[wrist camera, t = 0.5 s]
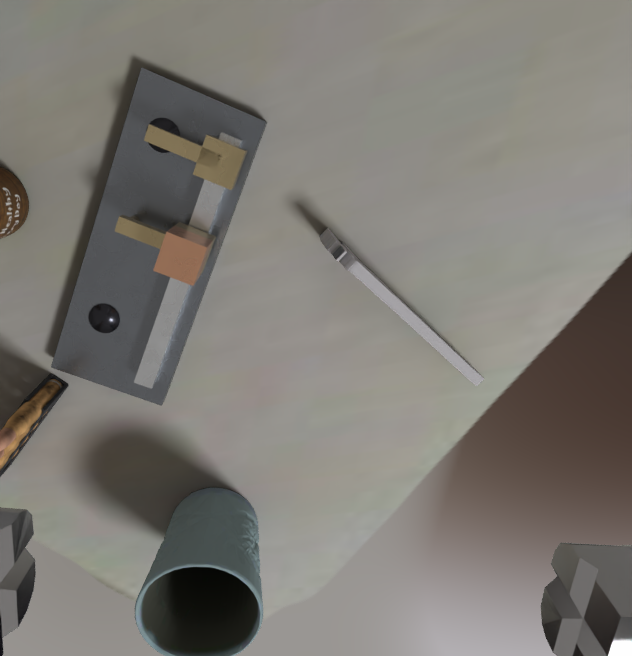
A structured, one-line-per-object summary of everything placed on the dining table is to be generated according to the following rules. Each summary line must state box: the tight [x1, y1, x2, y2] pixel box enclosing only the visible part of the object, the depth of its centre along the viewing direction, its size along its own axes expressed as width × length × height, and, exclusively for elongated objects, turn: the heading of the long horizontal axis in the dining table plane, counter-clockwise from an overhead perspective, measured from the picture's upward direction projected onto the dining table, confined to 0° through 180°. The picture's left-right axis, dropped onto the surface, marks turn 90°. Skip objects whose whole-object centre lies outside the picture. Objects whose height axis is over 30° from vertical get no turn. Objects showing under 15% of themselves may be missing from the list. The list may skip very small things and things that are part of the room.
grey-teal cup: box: [135, 488, 263, 656], centre depth 52 cm, size 10×10×12 cm
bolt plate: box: [51, 67, 267, 406], centre depth 47 cm, size 26×10×5 cm, turn 158°
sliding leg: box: [115, 215, 216, 286], centre depth 44 cm, size 3×7×6 cm, turn 68°
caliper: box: [320, 228, 484, 386], centre depth 49 cm, size 20×1×6 cm, turn 46°
